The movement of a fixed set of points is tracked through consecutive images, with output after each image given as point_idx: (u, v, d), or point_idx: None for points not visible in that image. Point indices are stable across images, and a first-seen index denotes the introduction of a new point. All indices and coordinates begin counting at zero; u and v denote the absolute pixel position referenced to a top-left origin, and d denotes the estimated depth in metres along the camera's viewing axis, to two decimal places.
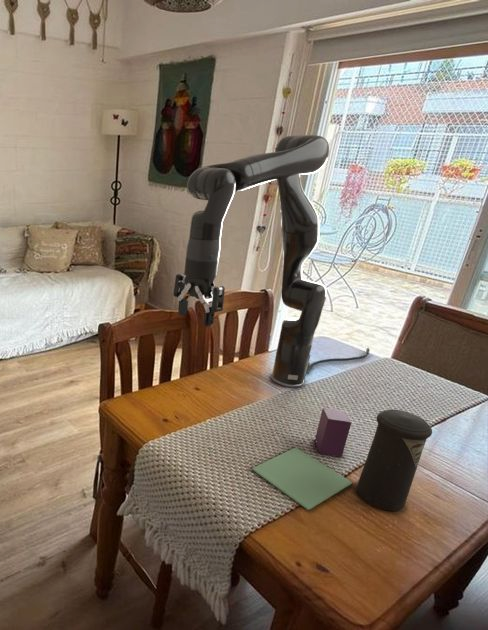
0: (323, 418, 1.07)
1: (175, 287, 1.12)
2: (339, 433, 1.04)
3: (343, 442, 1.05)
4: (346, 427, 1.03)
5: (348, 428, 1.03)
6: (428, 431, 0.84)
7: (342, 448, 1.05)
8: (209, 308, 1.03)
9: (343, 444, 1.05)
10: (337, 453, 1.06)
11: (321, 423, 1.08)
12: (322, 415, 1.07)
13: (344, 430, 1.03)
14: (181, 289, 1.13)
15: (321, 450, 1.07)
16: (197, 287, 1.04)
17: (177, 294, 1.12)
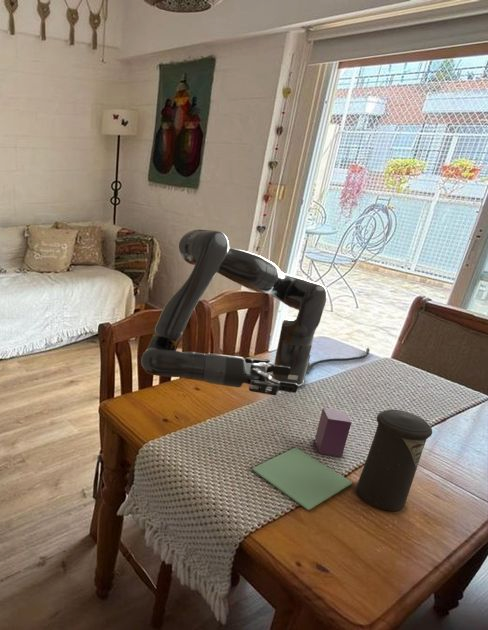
0: (323, 418, 1.07)
1: None
2: (339, 433, 1.04)
3: (343, 442, 1.05)
4: (346, 427, 1.03)
5: (348, 428, 1.03)
6: (429, 431, 0.84)
7: (342, 448, 1.05)
8: None
9: (343, 444, 1.05)
10: (337, 453, 1.06)
11: (321, 423, 1.08)
12: (322, 415, 1.07)
13: (344, 430, 1.03)
14: None
15: (321, 450, 1.07)
16: None
17: None
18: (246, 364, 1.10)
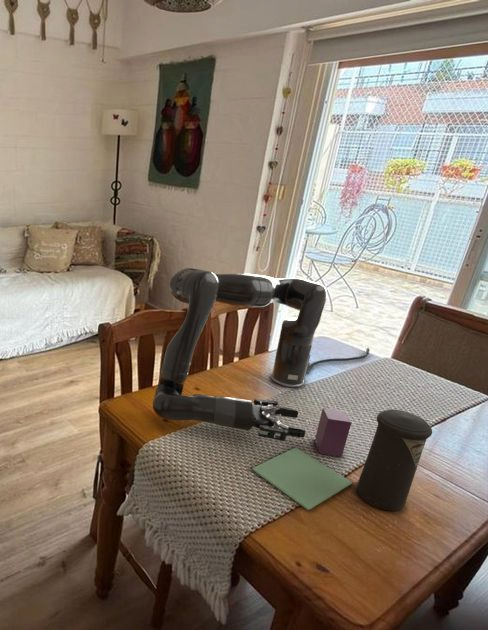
0: (323, 418, 1.07)
1: None
2: (339, 433, 1.04)
3: (343, 442, 1.05)
4: (346, 427, 1.03)
5: (348, 428, 1.03)
6: (428, 431, 0.84)
7: (342, 448, 1.05)
8: None
9: (343, 444, 1.05)
10: (337, 453, 1.06)
11: (321, 423, 1.08)
12: (322, 415, 1.07)
13: (344, 430, 1.03)
14: None
15: (321, 450, 1.07)
16: None
17: None
18: (255, 407, 1.13)
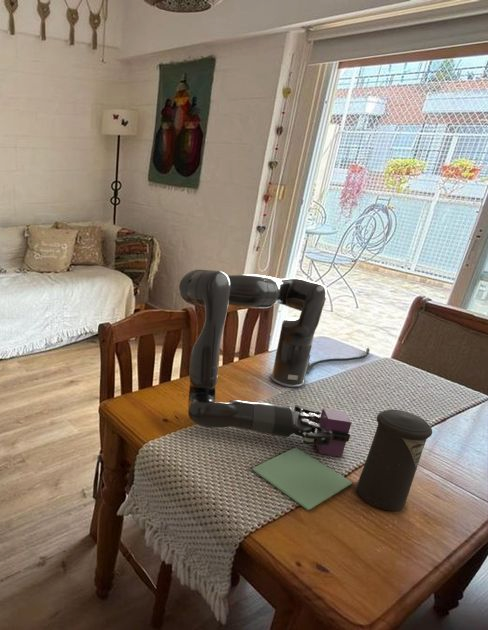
0: (323, 418, 1.07)
1: None
2: None
3: (343, 442, 1.05)
4: (346, 427, 1.03)
5: (348, 428, 1.03)
6: (428, 431, 0.84)
7: (342, 448, 1.05)
8: None
9: (343, 444, 1.05)
10: (337, 453, 1.06)
11: (321, 423, 1.08)
12: (323, 415, 1.07)
13: (344, 430, 1.03)
14: None
15: (321, 450, 1.07)
16: None
17: (316, 420, 1.12)
18: (293, 413, 1.11)
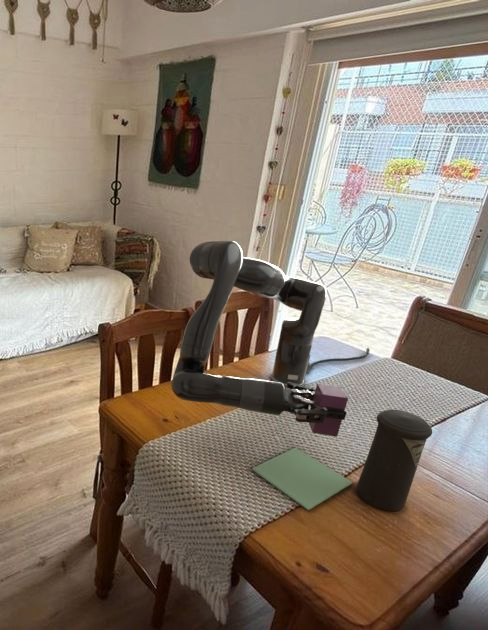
0: (317, 395, 0.98)
1: None
2: None
3: (339, 420, 0.96)
4: (342, 403, 0.94)
5: (344, 405, 0.94)
6: (428, 431, 0.84)
7: (338, 427, 0.96)
8: None
9: (339, 422, 0.96)
10: (332, 432, 0.97)
11: (315, 400, 0.99)
12: (317, 391, 0.99)
13: (340, 407, 0.95)
14: None
15: (315, 429, 0.98)
16: None
17: (310, 397, 1.03)
18: (285, 389, 1.02)
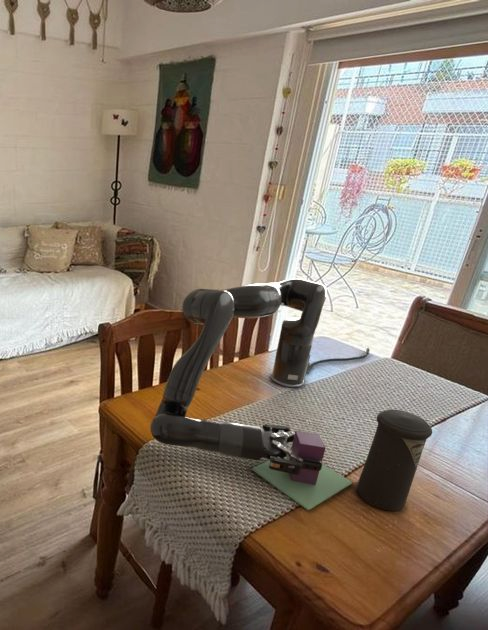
0: (295, 442, 0.97)
1: None
2: None
3: None
4: (320, 453, 0.94)
5: (322, 454, 0.94)
6: (428, 431, 0.84)
7: (316, 475, 0.96)
8: None
9: (317, 471, 0.95)
10: (311, 481, 0.96)
11: (293, 447, 0.98)
12: (295, 438, 0.98)
13: (317, 456, 0.94)
14: None
15: (293, 477, 0.97)
16: None
17: None
18: (264, 434, 1.01)
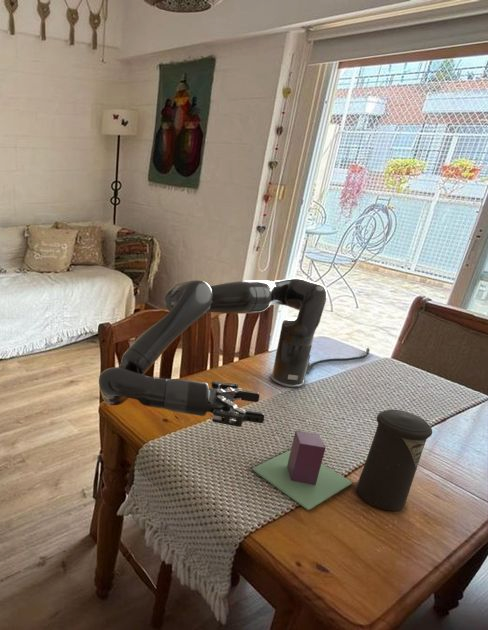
0: (295, 442, 0.97)
1: None
2: (312, 459, 0.95)
3: (317, 469, 0.95)
4: (320, 453, 0.94)
5: (322, 454, 0.94)
6: (428, 431, 0.84)
7: (316, 475, 0.96)
8: None
9: (317, 471, 0.95)
10: (311, 481, 0.96)
11: (293, 447, 0.98)
12: (295, 438, 0.98)
13: (317, 456, 0.94)
14: None
15: (293, 477, 0.97)
16: None
17: None
18: (211, 390, 1.01)
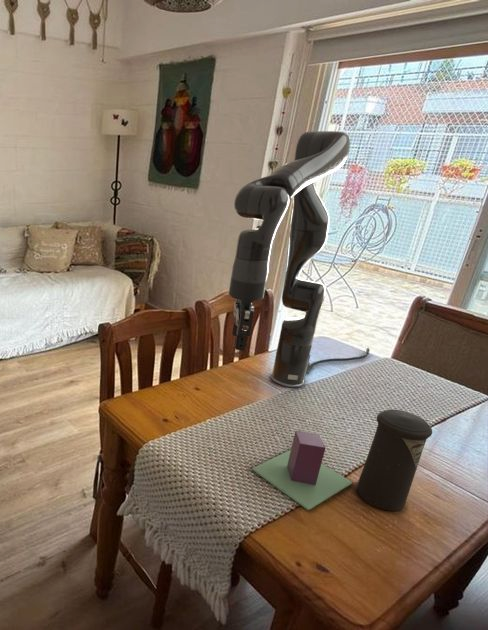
0: (295, 442, 0.97)
1: None
2: (312, 459, 0.95)
3: (317, 469, 0.95)
4: (320, 453, 0.94)
5: (322, 454, 0.94)
6: (429, 431, 0.84)
7: (316, 475, 0.96)
8: None
9: (317, 471, 0.95)
10: (311, 481, 0.96)
11: (293, 447, 0.98)
12: (295, 438, 0.98)
13: (317, 456, 0.94)
14: None
15: (293, 477, 0.97)
16: (235, 307, 1.01)
17: None
18: None
